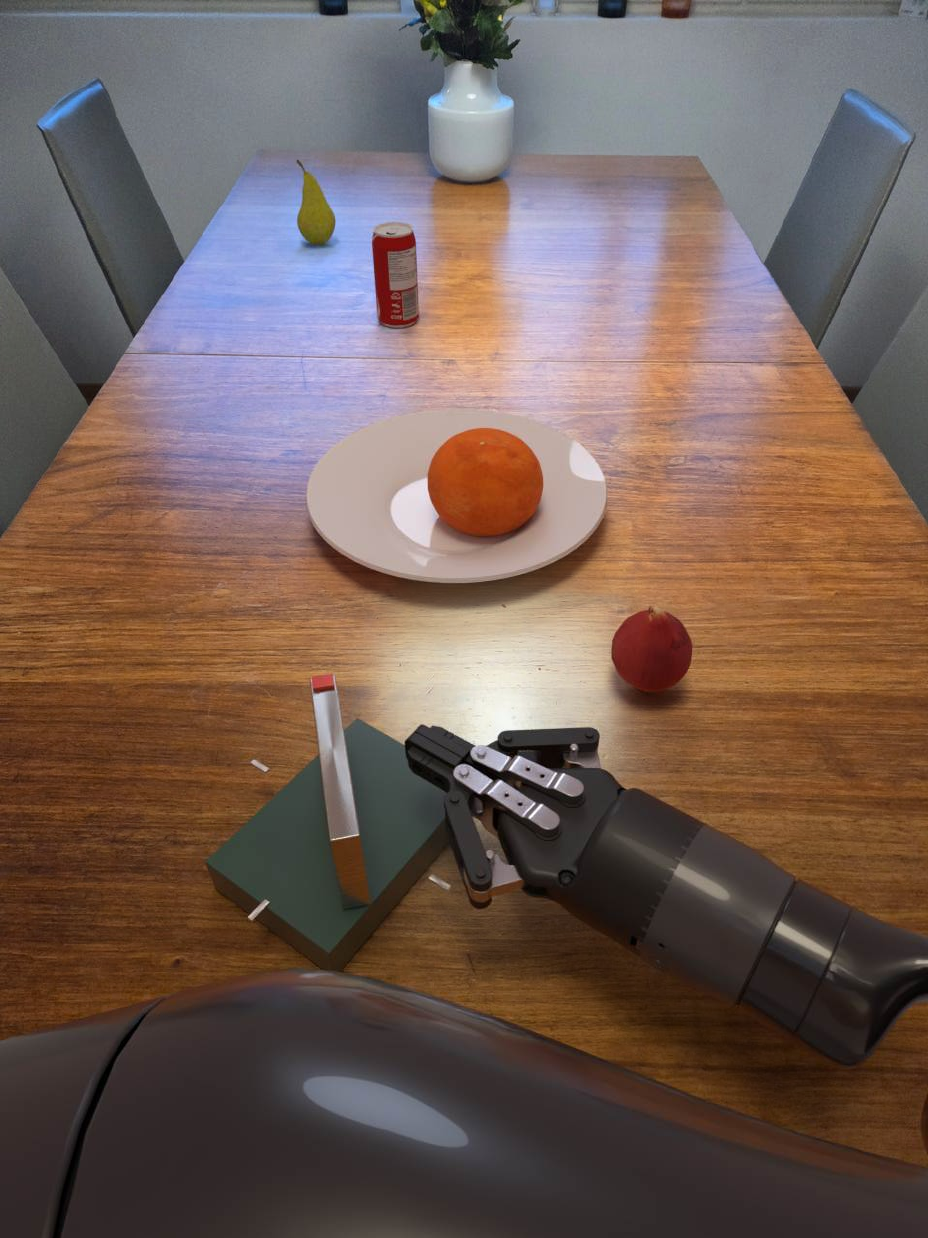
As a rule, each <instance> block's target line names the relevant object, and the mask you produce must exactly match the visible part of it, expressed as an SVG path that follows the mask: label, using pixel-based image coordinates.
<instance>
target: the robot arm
mask: <svg viewBox="0 0 928 1238" xmlns="http://www.w3.org/2000/svg"><path fill="white" fill-rule="evenodd" d="M600 738H601V735H600V732H599V731H598V730H597V729H596V728H594V727H590V726H586V727H585V726H584V727H583V726H582V727H581V726H580V727H560V728H559V727H558V728H535V729H534V728H533V729H509V730H503V731H501V732H499V733H498V735H497V739H496V740H494V741H492V742H491V743H489V744H487V745H483V744H479V745H475V744H473V743H471V742H470V741H468V740H466V739H464V738H462V737H460V736H458V735H457V734H454V733H453V732H451V731H449V730H448V729H446V728H444V727H442V726H436V725H431V726H430V727H429V726H427V725H425V724H419V725H418V726H417V727H416V729H415V730H413V732H412V733H411V734H410V735H408V737H407V738H406V739H405V740H404V745H405V754H406V758H407V760H408V767H409V768H410V769H411V771H412V772H413V773H414V774H416V775H418V776H419V777H422V778H423V779H424V780H427V781H428V782H430V783H431V784H433V785H435V786H436V787H438V788H440V789H442V790H443V791H445V792H446V795H445V796H444V808H445V819H444V823H445V829H446V832H447V835H448V838H449V841H450V842H449V844H450V847H451V850H452V853H453V856H454V859H455V863H456V866H457V868H458V871H459V874H460V877H461V880H462V883H463V887H464V889H465V892H466V895H467V898H468V902H469V904H470V905H471V907H473V908H474V909H477V910H484V909H487V908H488V907H489V906H490V905H491V904H492V902H493V897H496V896H500V895H504V894H507V893H511V892H515V891H519V890H521V892H522V893H523V894H525V895H527V896H529V897H531V898H535V899H543V900H544V899H545V900H549V901H552V902H554V903H557V904H558V905H560V907H562V908H563V909H564V910H565V911H567V913H569V914H570V915H571V916H573V917H574V918H576V919H577V920H579V921H580V922H582V923H584V924H585V925H587V926H589V927H590V928H591V929H593V930H595V931H596V932H598V933H600V934H601V935H603V936H605V937H607V938H608V939H610V940H611V941H613V942H614V943H616V944H618V945H620V946H621V947H623V948H624V949H626V950H628V951H629V952H631V953H632V954H634V955H636V956H638V957H639V958H641V959H643V961H645V962H647V963H648V964H649V965H650V966H651V967H653V969H656V971H659V972H661V973H662V974H663V973H664V974H667V975H669V976H671V977H672V978H674V979H675V980H677V981H678V982H680V983H681V984H683V985H685V986H687V987H689V988H691V989H693V990H695V991H698V992H699V993H702V994H704V995H706V996H709V997H711V998H713V999H716V1000H717V1001H720V1002H721V1003H723V1004H725V1005H727V1006H729V1007H731V1008H735V1007H736V1010H737V1011H738V1012H740V1013H741V1014H743V1015H745V1016H747V1018H750V1019H751V1020H753V1021H755V1022H757V1024H758V1023H759V1025H761V1026H762V1027H764V1028H765V1029H768V1030H769V1031H771V1032H773V1033H774V1034H776V1035H778V1036H779V1037H781V1038H782V1039H784V1040H786V1041H788V1042H789V1043H790V1044H792V1045H794V1047H796V1048H798V1049H800V1050H802V1051H803V1052H805V1053H806V1054H808V1055H810V1056H812V1057H813V1058H815V1059H817V1060H818V1061H821V1062H822V1063H825V1064H827V1065H829V1066H831V1067H832V1068H836V1069H839V1070H840V1069H841V1070H854V1069H857V1067H860V1066H862V1065H863V1064H864V1063H866V1062H867V1061H868V1060H869V1059H870V1057H871V1056H872V1055H873V1054H874V1053H875V1052H876V1051H877V1050H878V1048H879V1047H880V1046H881V1044H882V1043H883V1042H884V1040H885V1038H887V1036H888V1035H889V1033H890V1032H891V1031H892V1029H893V1028H894V1026H896V1023H897V1022H898V1021H899V1020H900V1018H902V1016H903V1015H904V1014H905V1013H906V1012H907V1011H908V1010H910V1009H911V1008H912V1007H914V1006H915V1005H918V1004H928V936H926V935H924V934H920V933H917V932H915V931H912V930H909V929H907V928H904V927H901V926H898V925H894V924H892V923H889V922H887V921H884V920H882V919H879V918H877V917H875V916H873V915H871V914H869V913H867V912H865V911H863V910H861V909H860V908H857V907H855V906H853V905H851V904H850V903H847V902H846V901H844V900H842V899H841V898H838V897H837V896H834V895H833V894H831V893H829V892H827V891H825V890H823V889H821V888H819V887H817V886H815V885H813V884H812V883H811V882H808V881H807V880H804V879H802V878H797V877H796V875H795V874H793V873H791V872H789V871H787V870H786V869H784V868H783V867H781V866H780V865H778V864H777V863H776V862H774V861H773V860H771V859H770V858H769V857H767V856H766V855H764V854H763V853H762V852H760V851H758V850H756V849H754V848H753V847H751V846H749V845H748V844H745V843H744V842H742V841H740V840H738V839H736V838H734V837H732V836H731V835H729V834H727V833H724V832H723V831H721V830H718V829H717V828H715V827H713V826H711V825H709V824H707V823H705V822H704V821H702V820H700V819H698V818H696V817H694V816H692V815H690V814H688V813H686V812H684V811H683V810H681V809H679V808H677V807H676V806H673V805H671V804H669V803H667V802H665V801H663V800H662V799H659V798H657V797H655V796H654V795H652V794H650V793H648V792H647V791H644V790H642V789H640V788H637V787H630V788H626V787H624V786H622V785H621V783H619V782H618V780H617V779H616V778H615V776H614V775H613V774H612V773H611V772H609V771H608V770H607V769H604V768H602V767H601V761H600V756H599V750H598V749H599V746H600ZM474 818H475V819H477V820H478V821H479V822H480V823H481V826H482V827H483V828H484V829H485V830H486V831H487V832H489V833H490V834H491V835H493V836H494V837H495V838H497V839H498V842H499V844H500V847H501V849H502V852H503V854H504V856H505V858H506V861H507V863H508V864H507V863H505V862H504V861H503V860H502V859H501V857H500V855H499V854H498V853H496V852H495V851H494V850H491V849H489V850H486V851H485V848H484V845H483V842H482V840H481V839H482V838H481V836H480V833H479V831H478V829H477V825H476V823H475V820H474ZM796 878H797V879H796ZM920 1135H921V1139H922V1144H923V1146H924V1149H925V1152H926V1154H927V1155H928V1093H927V1094H926V1096H925V1099H924V1103H923V1106H922V1110H921V1115H920ZM0 1238H928V1166H924V1165H920V1164H917V1163H912V1162H908V1161H904V1160H902V1159H901V1160H900V1159H897V1158H894V1157H889V1156H885V1155H881V1154H878V1153H873V1152H869V1151H866V1150H862V1149H859V1148H856V1147H852V1146H848V1145H844V1144H840V1143H838V1142H834V1141H831V1140H827V1139H823V1138H820V1137H817V1136H812V1135H809V1134H805V1133H802V1132H798V1131H796V1130H793V1129H790V1128H787V1127H785V1126H781V1125H778V1124H775V1123H772V1122H769V1121H767V1120H764V1119H761V1118H758V1117H755V1116H752V1115H750V1114H747V1113H744V1112H740V1111H738V1110H735V1109H732V1108H729V1107H727V1106H723V1105H721V1104H717V1103H715V1102H712V1101H709V1100H706V1099H704V1098H701V1097H700V1096H696V1095H694V1094H691V1093H689V1092H686V1091H684V1090H681V1089H680V1088H676V1087H674V1086H671V1085H670V1084H667V1083H664V1082H662V1081H660V1080H656V1079H654V1078H652V1077H649V1076H647V1075H644V1074H642V1073H640V1072H637V1071H635V1070H631V1069H630V1068H627V1067H624V1066H622V1065H620V1064H617V1063H614V1062H612V1061H609V1060H607V1059H604V1058H602V1057H599V1056H597V1055H595V1054H592V1053H590V1052H587V1051H586V1050H585V1051H584V1050H583V1049H579V1048H577V1047H574V1046H573V1045H570V1044H567V1043H564V1042H562V1041H559V1040H557V1039H554V1038H552V1037H549V1036H546V1035H544V1034H542V1033H539V1032H537V1031H534V1030H531V1029H529V1028H527V1027H524V1026H521V1025H519V1024H516V1023H513V1022H510V1021H509V1020H505V1019H503V1018H501V1017H498V1016H495V1015H492V1014H489V1013H486V1012H483V1011H480V1010H477V1009H474V1008H471V1007H468V1006H466V1005H463V1004H460V1003H456V1002H454V1001H451V1000H448V999H445V998H443V997H440V996H436V995H434V994H431V993H427V992H426V991H425V992H424V991H422V990H419V989H415V988H412V987H407V986H404V985H401V984H398V983H397V984H396V983H393V982H389V981H385V980H382V979H378V978H374V977H368V976H363V975H358V974H352V973H348V972H342V971H340V972H337V971H326V970H323V969H310V968H298V967H297V968H287V969H275V970H267V971H259V972H253V973H249V974H244V975H239V976H235V977H230V978H227V979H223V980H218V981H215V982H209V983H205V984H202V985H198V986H194V987H189V988H183V989H182V990H179V991H176V992H174V993H173V992H172V993H170V994H165V995H162V996H161V995H160V996H157V997H154V998H151V999H147V1000H143V1001H140V1002H136V1003H133V1004H129V1005H124V1006H122V1007H118V1008H114V1009H110V1010H107V1011H103V1012H99V1013H97V1014H92V1015H89V1016H85V1017H82V1018H78V1019H73V1020H70V1021H66V1022H63V1023H59V1024H55V1025H52V1026H48V1027H45V1028H41V1029H37V1030H34V1031H30V1032H27V1033H24V1034H20V1035H19V1034H18V1035H16V1036H12V1037H9V1038H4V1039H1V1040H0Z"/></svg>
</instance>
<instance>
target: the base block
mask: <svg viewBox="0 0 928 1238" xmlns="http://www.w3.org/2000/svg"><path fill="white" fill-rule="evenodd" d="M344 734H345V740H346V747H347V753H348V759H349V766H350V772H351V778H352V785H353V791H354V797H355V804H356V810H357V817H358V823H359V829H360V836H361V842H362V849H363V856H364V862H365V869H366V876H367V882H368V889H369V896H370V902H371V903H370V904H369V905H365V906H360V907H355V908H350V909H345V910H344V909H343V907H342V902H341V897H340V891H339V886H338V881H337V876H336V871H335V865H334V860H333V855H332V850H331V845H330V839H329V831H328V823H327V815H326V807H325V799H324V791H323V783H322V775H321V768H320V760H319V754H317V755H316V756H315V757H314V758H313V759H311V761H310V762H308V763H307V764H306V766H305V767H304V768H303V769H302V770H300V772H299V773H297V774H296V775H295V776H294V777H293V778H292V779H291V780H290V781H289V782H288V783H286V784H285V786H283V787H282V789H281V790H279V791H278V792H277V793H276V794H275V795H274V796H273V797H271V799H269V801H267V802H266V803H265V804H264V805H263V806H262V807H261V808H260V809H259V810H258V811H257V812H255V814H254V815H253V816H251V818H250V819H249V820H248V821H246V822H245V824H243V825H242V826H241V827H240V828H239V829H238V830H237V831H236V832H235V833H234V834H233V835H232V836H230V837H229V838H228V839H227V840H226V841H225V842H224V843H223V844H222V845H221V846H220V847H219V848H218V849H217V850H216V851H215V852H214V853H213V854H212V855H211V856H210V857H208V859H207V860H205V865H206V868H207V870H208V873H209V875H210V878H211V882H212V884H213V887H214V889H215V890H217V891H218V892H219V893H220V894H222V895H223V896H225V897H226V898H227V899H228V900H230V901H231V902H233V903H234V904H235V905H236V906H238V907H239V908H241V909H242V910H243V911H244V912H246V913H247V914H249V915H248V916H247V919H248V920H249V921H250V922H252V923H253V922H254V921H255V920H256V921H258V922H259V923H260V924H262V925H263V926H264V927H265V928H267V929H268V930H269V931H271V932H272V933H274V934H275V935H276V936H277V937H279V938H280V939H282V940H283V941H284V942H286V943H287V944H288V945H289V946H291V947H292V948H293V949H295V950H296V951H297V952H299V954H301V955H303V956H304V957H306V958H307V959H308V960H309V961H310V962H312V963H313V964H315V965H316V966H317V967H319V969H320V970H326V971H337V972H342V970H343V969H344V968H345V967H346V966H347V964H348V963H349V962H350V961H351V959H353V957H354V956H355V955H356V954H357V953H358V952H359V950H360V949H361V948H362V947H363V945H364V944H365V943H366V942H367V940H369V938H370V937H371V936H372V935H373V934H374V932H375V931H376V930H377V929H378V927H379V926H380V925H381V924H382V923H383V922H384V920H385V919H386V918H387V917H388V915H389V914H390V913H392V911H393V910H394V909H395V907H396V906H397V905H398V904H399V903H400V901H401V900H402V899H403V898H404V896H405V895H406V894H407V893H408V892H409V891H410V889H411V888H412V887H413V886H414V884H415V883H416V882H417V881H418V880H419V879H420V877H421V876H422V875H423V874H424V873H425V871H427V869H428V868H429V867H430V866H431V864H432V863H433V862H434V861H435V860H436V858H437V857H438V856H439V855H440V854H441V852H442V851H443V850H444V849H445V848H446V847H447V845H448V844H450V841H449V838H448V835H447V832H446V829H445V823H444V819H445V808H444V796H445V795H446V792H445V791H443V790H442V789H440V788H438V787H436V786H435V785H433V784H431V783H430V782H428V781H427V780H424V779H423V778H422V777H419V776H418V775H416V774H414V773H413V772H412V771H411V769H410V768H409V767H408V760H407V758H406V754H405V744H404V743H402V742H400V741H398V740H397V739H395V738H393V737H392V736H390V735H387V734H386V733H384V732H382V731H381V730H380V729H378V728H376V727H374V726H372V725H370V724H369V723H367V722H365V721H363V720H362V719H360V718H359V717H357V718H355V720H353V721H352V722H351V723H350V724H349V725H348V726H347V727H346V728H344ZM249 764H250V765H252V766H253V767H255V768H256V769H257V770H260V771H261V772H262V773H264V774H267V773H268V772H270V768H269V767H267V766H266V765H264V764H262V762H260V761H258V760H256V759H254V758H253V759H252V760H251V761H250V762H249ZM428 880H429V881H430V882H432V883H433V884H435V885H436V886H438V887H439V888H440V889H442V890H444V891H445V892H447V893H448V892H449V891H450V890H451V889H452V885H450V884H449V883H447V882H446V881H444V880H442V879H441V878H439V877H438V876H436V875H435V874H433V873H431V874H430V876H429V877H428Z"/></svg>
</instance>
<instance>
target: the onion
mask: <svg viewBox="0 0 928 1238" xmlns="http://www.w3.org/2000/svg"><path fill="white" fill-rule="evenodd" d="M691 638H692V637H690V635H689V632H688V630H687V629H686V627H685V625H684V623H683V622H682V621H681V620H680V619H679V618H677V617H676V616H675V615H673V614H671V613H669V612H668V611H665V610H663V608H661V607H659V606H657V605H652V606H651V605H649V607H648V608H647V609H644V610H641V611H638V612H636V613H634V614H632V615H630V616H628V617H627V618H626V619H624V621H623V622H622V623H621V624H620V626H619V627H618V628H617V630H616V631H615V633H614V635H613V637H612V641H611V650H610V658H611V660H612V664H613V666H614V668H615V670H616V672H617V674H618V675H619V676H620V678H622V679H623V680H624V682H626V684H628V685H630V686H632V687H634V688H635V689H638V690H641V691H644V692H647V693H658V692H663V691H665V690H668V689H670V688H672V687H674V686H675V685H676V684H678V683H679V682H681V680H682V679H683V678H684V677H685V675H686V674H688V671H689V668H690V667H691V665H692V657H693V642H692V639H691Z"/></svg>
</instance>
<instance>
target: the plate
mask: <svg viewBox="0 0 928 1238" xmlns="http://www.w3.org/2000/svg"><path fill="white" fill-rule="evenodd" d="M607 505H608V487H607V482H606V479H605V476H604V473H603V470H602V469H601V467H600V465H599V463H598V462H597V461H596V459H595V458H594V457H593V456H592V455H591V453H590V452H589V451H588V450H587V449H586V448H585V447H584V446H583V445H581V444H580V443H579V442H578V441H576V440H575V439H573V438H572V437H570V436H569V435H567V434H566V433H564V432H562V431H560V430H558V429H557V428H554V427H552V426H550V425H547V424H545V423H542V422H540V421H537V420H534V419H531V418H527V417H524V416H521V415H518V414H517V415H516V414H511V413H507V412H501V411H496V410H487V409H479V408H478V409H477V408H476V409H475V408H440V409H431V410H430V409H429V410H422V411H417V412H416V411H415V412H409V413H406V414H401V415H397V416H392V417H389V418H385V419H383V420H380V421H376V422H374V423H371V424H369V425H367V426H366V425H365V426H364V427H362V428H360V429H357V430H355V431H354V432H352V433H350V434H348V435H347V436H345V437H344V438H342V439H341V440H339V441H338V442H337V443H336V444H334V445H333V446H331V447H330V448H329V449H328V450H327V452H325V453H324V454H323V455H322V456H321V458H320V459H319V460H318V462H316V464H315V466H314V467H313V469H312V471H311V474H310V476H309V478H308V482H307V486H306V489H305V508H306V511H307V515H308V518H309V520H310V523H311V525H312V527H314V529H315V530H316V533H318V534H319V536H320V537H321V538H322V539H323V540H324V541H325V542H326V543H327V544H328V545H329V546H331V547H332V548H333V549H334V550H335V551H337V552H338V553H340V554H341V555H342V556H344V557H346V558H348V559H349V560H351V561H353V562H355V563H357V564H359V565H361V566H364V567H366V568H369V569H371V570H374V571H377V572H379V573H382V574H386V575H390V576H393V577H398V578H402V579H406V580H407V579H408V580H411V581H420V582H425V583H426V582H427V583H439V584H468V583H469V584H470V583H482V582H490V581H497V580H501V579H508V578H512V577H516V576H519V575H524V574H527V573H530V572H533V571H536V570H539V569H542V568H544V567H546V566H549V565H551V564H553V563H555V562H557V561H559V560H560V559H563V558H564V557H566V556H568V555H569V554H571V553H572V552H574V551H575V550H577V549H578V548H580V547H581V546H582V544H584V543H585V542H586V541H587V540H588V539H589V538H590V537H591V536H592V535H593V534H594V532H595V531H596V530H597V529H598V527H599V526H600V524H601V522H602V520H603V518H604V516H605V513H606V509H607Z"/></svg>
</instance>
